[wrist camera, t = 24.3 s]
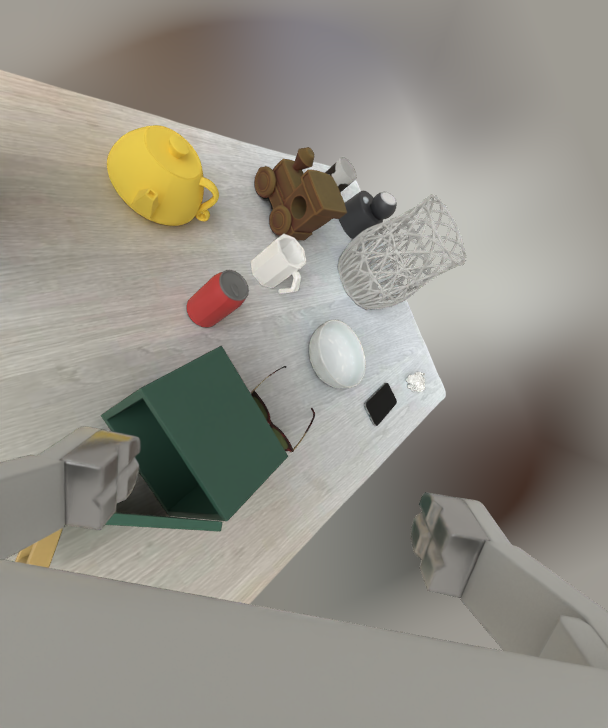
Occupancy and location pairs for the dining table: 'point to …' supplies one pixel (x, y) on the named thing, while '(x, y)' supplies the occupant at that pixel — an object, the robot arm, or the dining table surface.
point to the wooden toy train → (299, 196)
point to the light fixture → (366, 212)
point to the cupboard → (199, 438)
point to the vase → (362, 278)
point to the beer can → (217, 298)
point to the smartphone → (380, 404)
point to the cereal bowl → (337, 355)
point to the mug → (279, 263)
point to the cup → (342, 173)
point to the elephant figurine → (416, 382)
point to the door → (46, 547)
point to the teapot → (160, 176)
